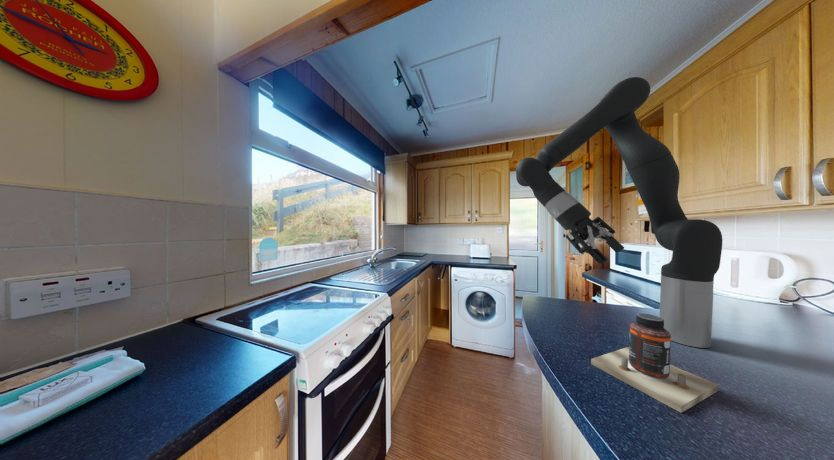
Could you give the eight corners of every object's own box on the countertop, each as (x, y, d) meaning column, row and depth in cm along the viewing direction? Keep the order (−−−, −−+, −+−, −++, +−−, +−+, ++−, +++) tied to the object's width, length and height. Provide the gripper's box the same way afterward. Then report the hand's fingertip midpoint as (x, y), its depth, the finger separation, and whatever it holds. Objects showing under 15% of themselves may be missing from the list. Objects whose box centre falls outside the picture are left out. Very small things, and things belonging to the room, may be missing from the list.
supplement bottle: (679, 381, 43) (681, 324, 43) (642, 377, 44) (644, 321, 44) (653, 363, 49) (655, 312, 49) (621, 359, 50) (623, 310, 50)
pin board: (627, 351, 56) (627, 339, 56) (718, 390, 43) (718, 374, 42) (591, 364, 51) (591, 350, 50) (681, 413, 38) (681, 394, 37)
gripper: (561, 209, 59) (612, 260, 52) (590, 195, 65) (639, 240, 58) (542, 225, 65) (586, 272, 58) (570, 211, 71) (613, 253, 64)
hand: (612, 256), depth 58 cm, fingers open, 8 cm apart
